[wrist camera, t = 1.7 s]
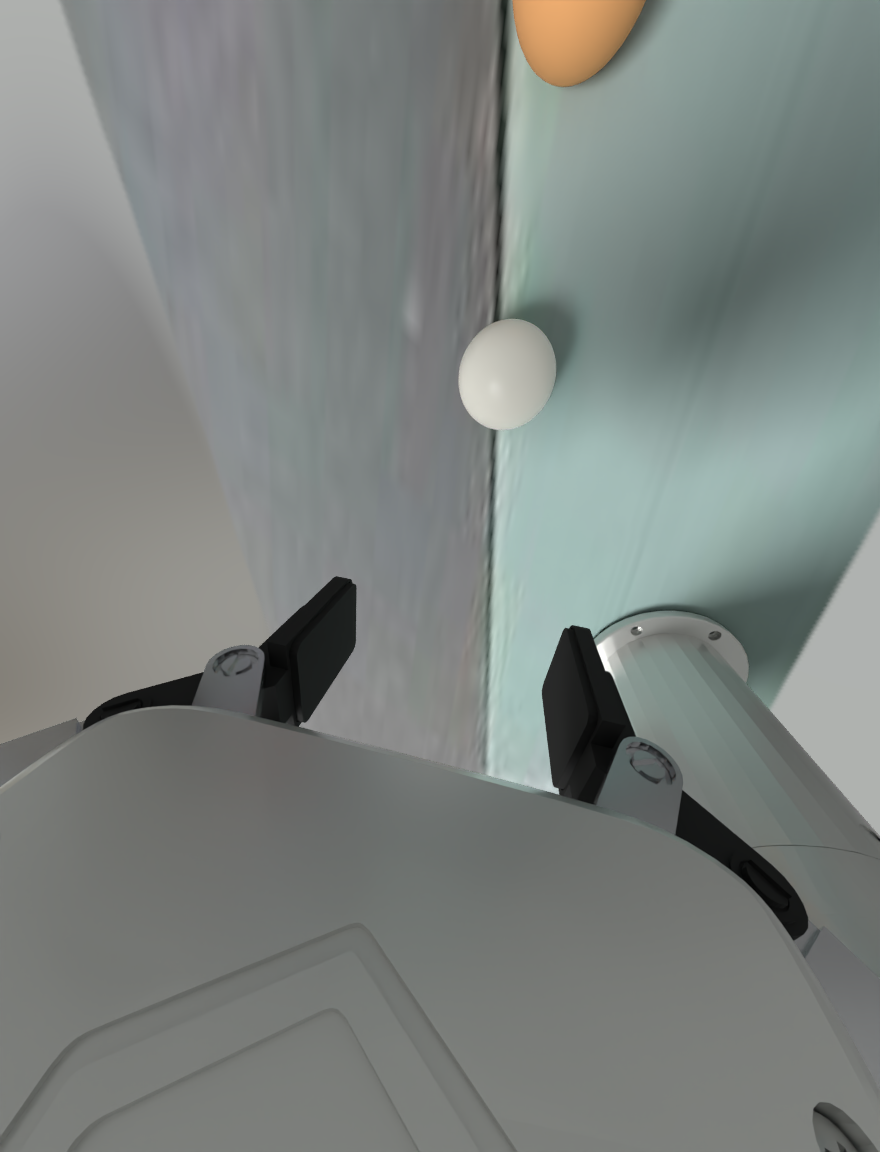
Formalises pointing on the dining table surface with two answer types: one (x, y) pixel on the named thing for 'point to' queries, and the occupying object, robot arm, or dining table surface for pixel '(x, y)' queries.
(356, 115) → the dining table surface
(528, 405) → the white egg
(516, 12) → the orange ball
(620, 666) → the robot arm
